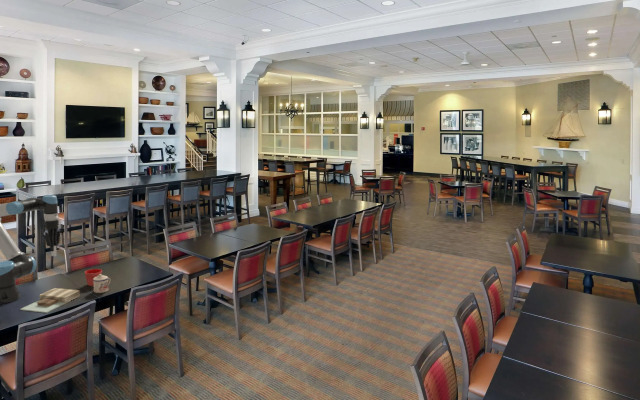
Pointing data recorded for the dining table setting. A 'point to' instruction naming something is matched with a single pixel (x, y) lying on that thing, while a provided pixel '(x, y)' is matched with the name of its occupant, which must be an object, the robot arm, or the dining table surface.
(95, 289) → the teacup with lid
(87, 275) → the flower pot
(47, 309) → the sage mat
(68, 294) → the birch deck
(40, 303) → the walnut tile
